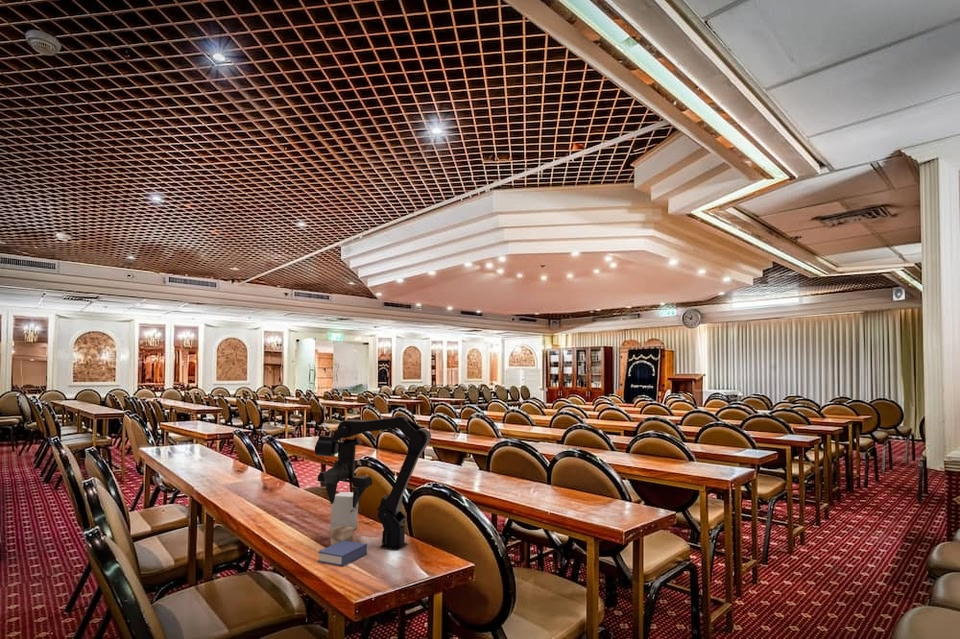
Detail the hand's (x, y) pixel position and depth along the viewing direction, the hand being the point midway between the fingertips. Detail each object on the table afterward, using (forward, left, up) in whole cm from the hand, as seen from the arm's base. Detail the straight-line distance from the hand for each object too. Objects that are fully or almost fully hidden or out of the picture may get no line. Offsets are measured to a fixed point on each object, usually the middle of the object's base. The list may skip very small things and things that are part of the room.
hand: (342, 505), depth 171 cm
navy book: (-9, +11, -12) cm, 19 cm away
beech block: (0, 0, -12) cm, 12 cm away
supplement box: (+9, -13, -12) cm, 20 cm away
